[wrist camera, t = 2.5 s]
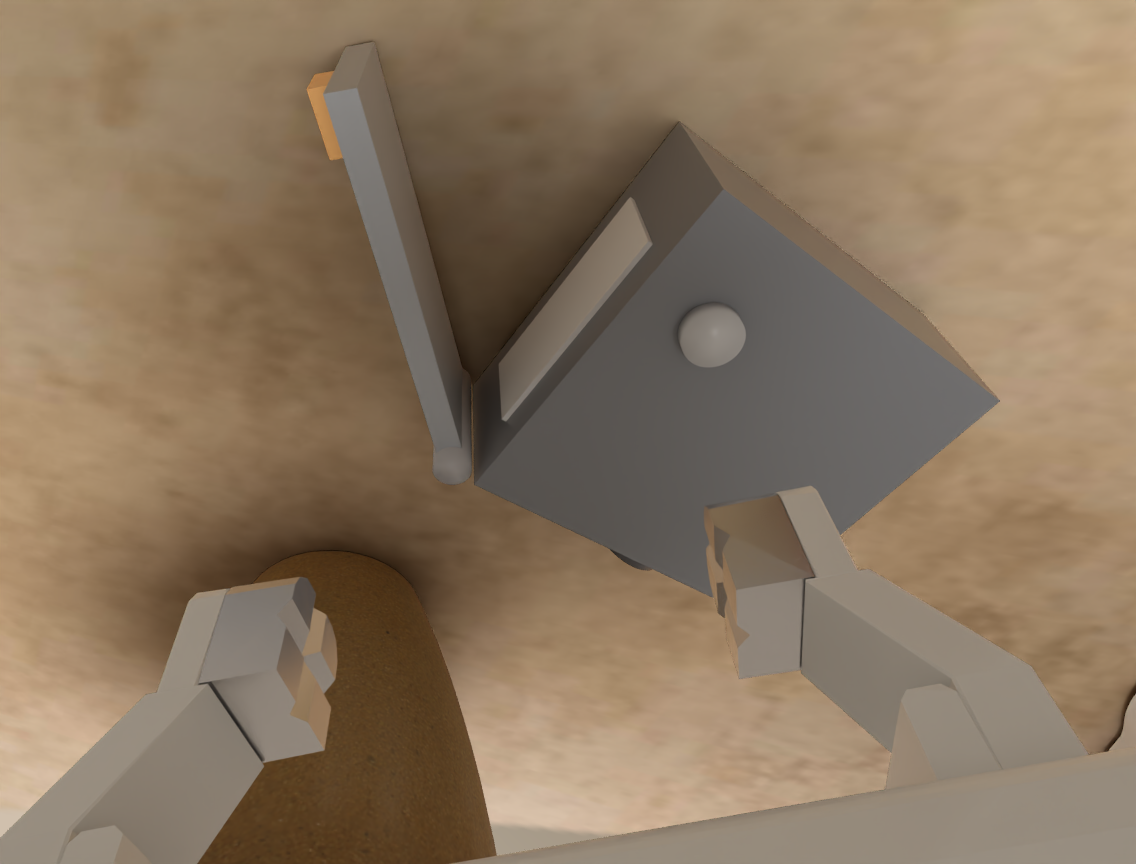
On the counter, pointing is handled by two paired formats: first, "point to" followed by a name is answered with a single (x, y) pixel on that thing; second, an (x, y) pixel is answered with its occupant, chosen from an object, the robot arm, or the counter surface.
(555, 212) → the counter surface
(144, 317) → the counter surface
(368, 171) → the side door
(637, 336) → the box
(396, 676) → the plant pot
